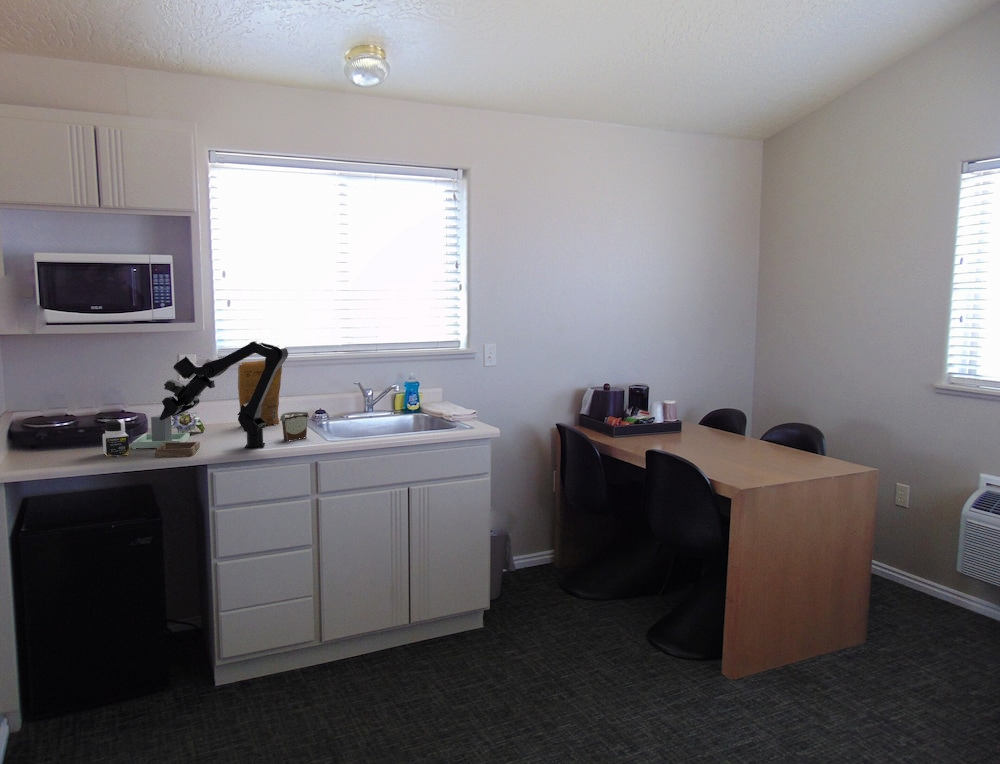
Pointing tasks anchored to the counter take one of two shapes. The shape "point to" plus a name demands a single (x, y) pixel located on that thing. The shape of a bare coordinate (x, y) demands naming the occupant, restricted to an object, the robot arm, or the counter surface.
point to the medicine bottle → (115, 438)
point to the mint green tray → (147, 442)
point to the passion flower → (187, 422)
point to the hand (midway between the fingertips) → (166, 417)
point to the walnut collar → (177, 449)
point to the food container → (294, 425)
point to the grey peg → (161, 429)
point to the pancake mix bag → (247, 385)
